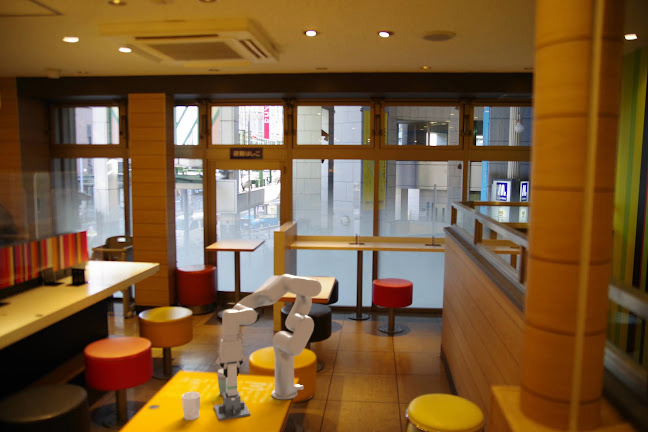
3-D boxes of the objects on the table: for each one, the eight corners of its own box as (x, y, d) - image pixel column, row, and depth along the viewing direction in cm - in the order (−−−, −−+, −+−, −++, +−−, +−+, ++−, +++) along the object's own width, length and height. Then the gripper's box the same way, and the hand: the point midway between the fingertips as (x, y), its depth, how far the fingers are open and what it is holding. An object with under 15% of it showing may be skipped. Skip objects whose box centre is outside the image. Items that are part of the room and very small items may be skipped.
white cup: (193, 411, 238) (193, 390, 237) (204, 416, 233) (203, 394, 232) (178, 417, 232) (178, 395, 231) (189, 422, 227) (189, 400, 226)
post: (235, 393, 240) (235, 359, 239) (237, 397, 236) (237, 363, 234) (225, 395, 238) (225, 361, 237) (227, 399, 234) (227, 364, 233)
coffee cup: (230, 398, 251) (230, 374, 251) (214, 396, 253) (213, 372, 252) (237, 391, 260) (236, 367, 259) (221, 389, 262) (220, 366, 261)
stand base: (243, 402, 247) (243, 386, 246) (250, 415, 234) (250, 398, 233) (213, 407, 242) (213, 390, 241) (219, 420, 229) (218, 403, 228)
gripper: (247, 332, 241) (247, 370, 243) (210, 336, 235) (211, 375, 237) (251, 337, 234) (251, 376, 236) (213, 341, 228) (214, 381, 230)
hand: (231, 375), depth 236 cm, fingers closed on post, 4 cm apart
